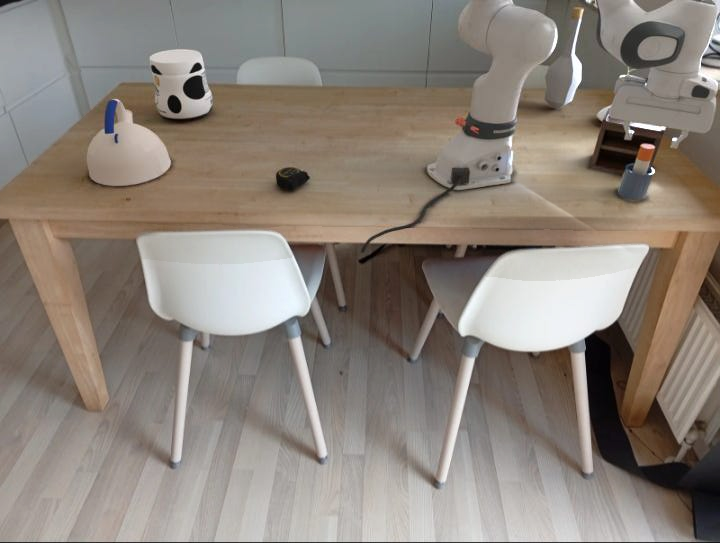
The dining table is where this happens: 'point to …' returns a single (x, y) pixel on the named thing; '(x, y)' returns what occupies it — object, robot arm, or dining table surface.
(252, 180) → the dining table surface
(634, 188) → the pen cup
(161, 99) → the milk container
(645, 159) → the marker
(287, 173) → the tape measure
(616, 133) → the small wooden shelf
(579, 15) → the bottle
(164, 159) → the kettle
